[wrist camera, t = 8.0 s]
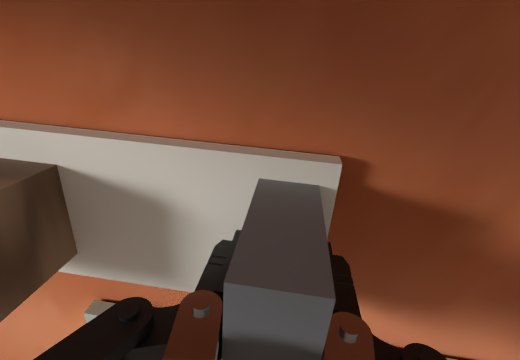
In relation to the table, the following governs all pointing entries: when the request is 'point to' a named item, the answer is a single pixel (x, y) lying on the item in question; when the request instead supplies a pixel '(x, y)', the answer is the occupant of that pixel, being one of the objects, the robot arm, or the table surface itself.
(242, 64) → the table surface
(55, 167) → the walnut block
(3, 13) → the table surface
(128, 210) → the cream strip
